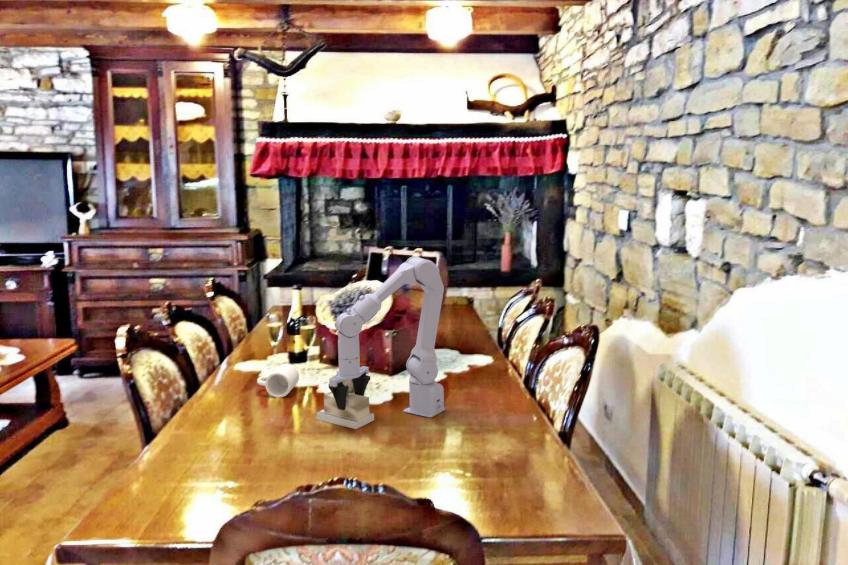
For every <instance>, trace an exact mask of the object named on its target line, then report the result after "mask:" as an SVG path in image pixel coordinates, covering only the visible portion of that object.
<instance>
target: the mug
mask: <svg viewBox="0 0 848 565" xmlns="http://www.w3.org/2000/svg"><path fill="white" fill-rule="evenodd" d="M299 381H300V372H299V370H298V369H297V368H296V366H294V365H292V364H290V363H283V364H280V365H278V366H277V368H275V369H274V370H273V371H272V372H271V373H270V374H266V375H262V376H259V377H257V379H256V383H257V385H259V386H263V387H264V388H265V390H266V391H267V393H268V394H269V395H270V396H272V397H274V398H279V399H280V398H284V397H286V396H287V395H288V394H289V393H290V392H291V391H292V389H293V388H294V387H295V386H296V385H297V384H298V383H299Z"/></svg>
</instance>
